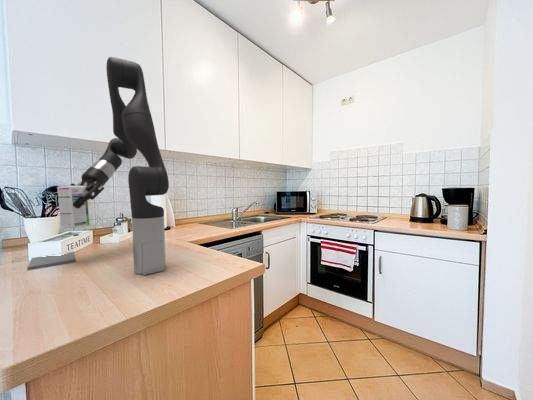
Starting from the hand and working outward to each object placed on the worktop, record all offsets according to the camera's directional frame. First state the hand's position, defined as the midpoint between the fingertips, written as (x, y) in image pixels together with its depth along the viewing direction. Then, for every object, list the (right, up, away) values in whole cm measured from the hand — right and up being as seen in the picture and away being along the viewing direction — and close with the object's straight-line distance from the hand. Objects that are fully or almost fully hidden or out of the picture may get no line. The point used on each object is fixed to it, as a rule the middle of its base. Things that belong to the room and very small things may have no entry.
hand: (68, 206), depth 79 cm
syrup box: (+1, -7, +2) cm, 8 cm away
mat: (-10, -20, +5) cm, 23 cm away
